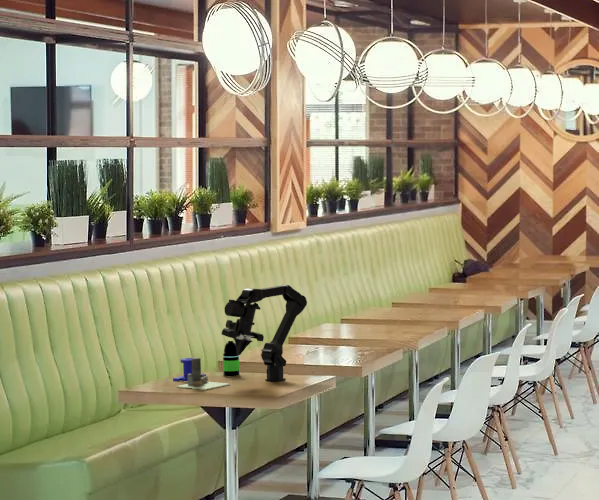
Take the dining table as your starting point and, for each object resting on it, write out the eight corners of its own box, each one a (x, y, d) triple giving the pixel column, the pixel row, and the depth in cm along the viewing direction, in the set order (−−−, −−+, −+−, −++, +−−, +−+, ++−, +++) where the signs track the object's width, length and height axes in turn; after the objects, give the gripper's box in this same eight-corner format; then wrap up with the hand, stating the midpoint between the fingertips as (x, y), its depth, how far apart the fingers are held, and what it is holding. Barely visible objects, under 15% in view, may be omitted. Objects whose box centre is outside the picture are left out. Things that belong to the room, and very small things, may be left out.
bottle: (237, 376, 529) (236, 342, 528) (221, 376, 530) (220, 342, 530) (241, 374, 536) (240, 340, 535) (225, 374, 538) (224, 340, 537)
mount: (191, 376, 535) (191, 356, 535) (206, 377, 532) (205, 357, 531) (173, 381, 522) (172, 361, 521) (188, 382, 518) (187, 361, 518)
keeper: (189, 385, 508) (189, 373, 508) (204, 385, 507) (203, 373, 506) (187, 386, 505) (187, 374, 505) (202, 386, 504) (201, 374, 503)
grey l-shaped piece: (198, 380, 514) (197, 354, 513) (208, 380, 513) (208, 354, 513) (190, 386, 500) (189, 359, 500) (201, 385, 499) (200, 359, 499)
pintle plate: (229, 385, 506) (229, 383, 506) (205, 390, 494) (205, 389, 494) (201, 382, 516) (201, 380, 516) (176, 387, 503) (176, 386, 503)
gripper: (251, 316, 518) (243, 352, 519) (217, 311, 506) (209, 348, 507) (268, 322, 510) (259, 358, 511) (234, 317, 498) (225, 355, 498)
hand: (238, 355), depth 507 cm, fingers closed
